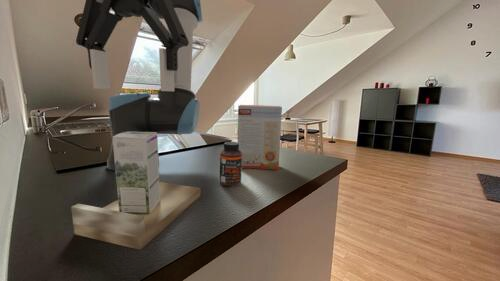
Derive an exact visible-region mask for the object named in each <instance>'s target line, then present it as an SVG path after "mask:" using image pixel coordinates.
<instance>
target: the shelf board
mask: <svg viewBox="0 0 500 281" xmlns="http://www.w3.org/2000/svg"><path fill="white" fill-rule="evenodd" d="M159 186H160V202H159V203H158V204H157V206H156V207H155V208H154V210H153V211H152V212H151V213H150V214H132V213H124V212H119V204H118V199H117V200H115V201H113V202H111V203H109V204H107V205H106V206H104V207H97V206H93V205H87V204H82V203H77V204H75V205H72V206H71V208H70V209H71V210H70V211H71V215H72V225H73V232H74V233H73V234H74V235H76V236H81V237H85V238H89V239H92V240H97V241H102V242H107V243H110V244H115V245H119V246H123V247H128V248H131V249H134V250H135V249H136V250H142V249H143V248H145V246H147V245H148V243H150V242H151V241H152V240H153V239H154V238H155V237H156V236H158V235H159V234H160V233H161V232H162V231H163V230H164V229H165V228H166V227H168V226H169V225H170V224H171V223H172V222H173V221H174V220H176V218H177V217H179V216H180V215H181V214H182V213H183V212H184V211H186V210H187V208H189V207H190V206H191V205H192V204H193V203H194V202H195V201H197V199H199V198H200V197H201V187H198V186H197V187H195V186H190V185H189V186H188V185H183V184H182V185H181V184H175V183H169V182H162V181H159Z"/></svg>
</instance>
